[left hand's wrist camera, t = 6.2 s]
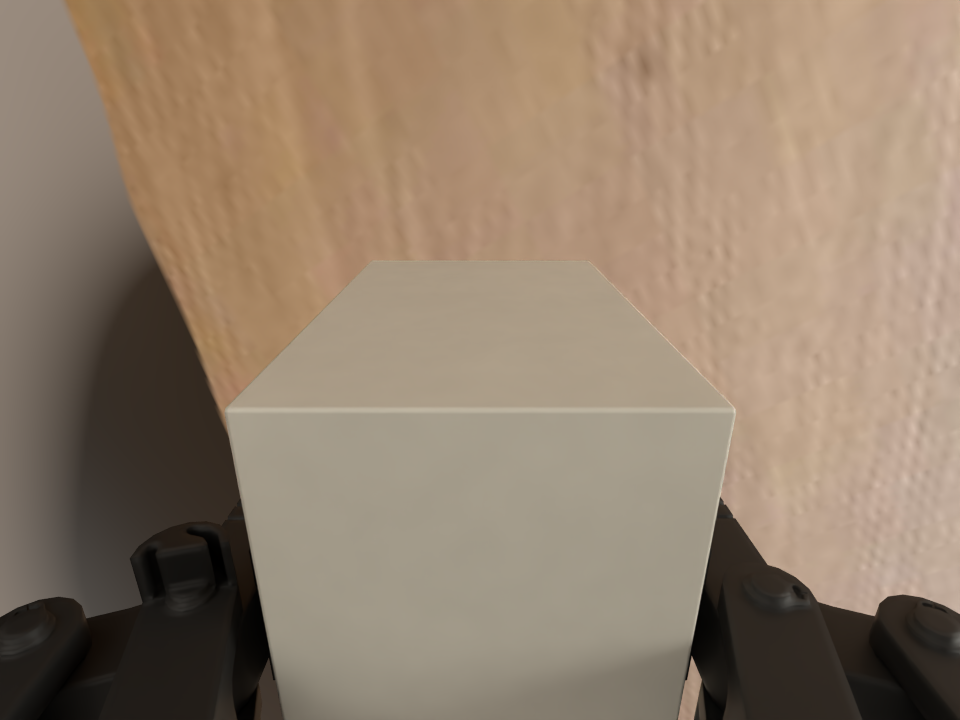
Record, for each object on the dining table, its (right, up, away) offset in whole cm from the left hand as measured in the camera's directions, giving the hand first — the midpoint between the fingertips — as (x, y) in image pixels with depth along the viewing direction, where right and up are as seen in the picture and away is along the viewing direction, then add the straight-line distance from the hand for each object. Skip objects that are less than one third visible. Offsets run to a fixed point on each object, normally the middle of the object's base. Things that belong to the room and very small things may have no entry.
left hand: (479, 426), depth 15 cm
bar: (0, -6, +3) cm, 7 cm away
